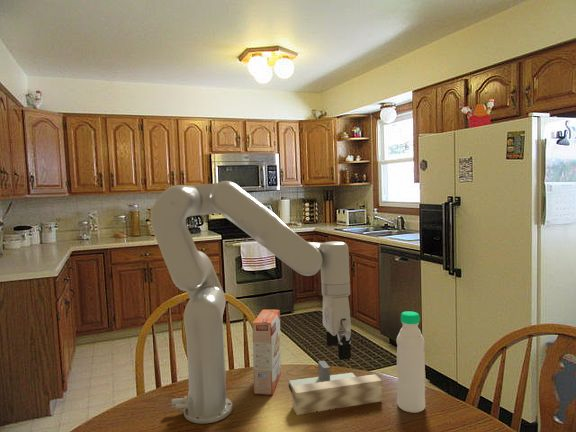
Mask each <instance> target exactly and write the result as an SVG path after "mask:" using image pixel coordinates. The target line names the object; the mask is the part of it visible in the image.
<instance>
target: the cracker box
mask: <svg viewBox="0 0 576 432" xmlns="http://www.w3.org/2000/svg"><path fill="white" fill-rule="evenodd" d="M281 352H282V351H281V311H280V309H261V311H260V313H259V314H258V315H257V316H256V317H255V319H254V320H253V322H252V361H253V365H252V366H253V368H252V369H253V394H254V395H265V396H266V395H267V396H273V395H274V393H275V389H276V387H277V384H278V382H279V380H280V378H281V376H282V375H281V374H282V370H281V369H282V367H281V366H282V365H281V363H282V359H281V354H282V353H281Z"/></svg>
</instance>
